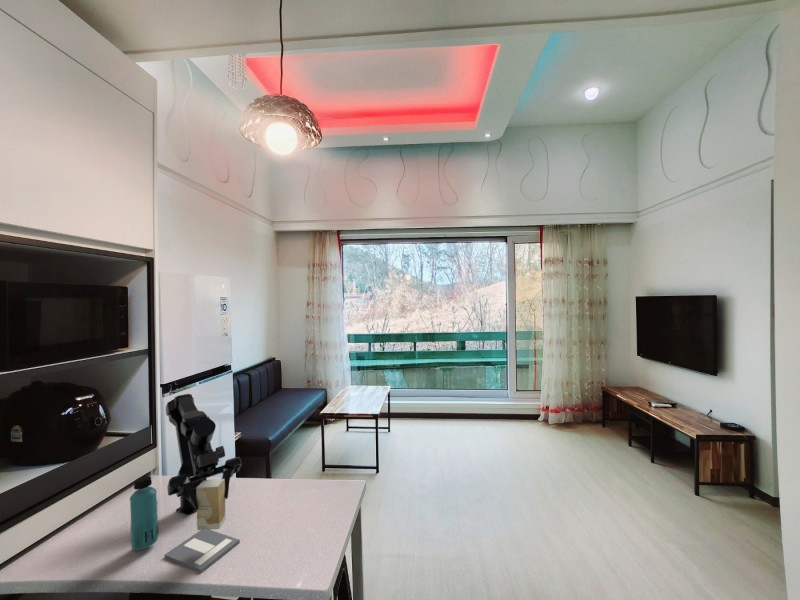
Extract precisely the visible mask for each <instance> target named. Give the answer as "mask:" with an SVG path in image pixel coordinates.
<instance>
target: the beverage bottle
mask: <svg viewBox="0 0 800 600" xmlns="http://www.w3.org/2000/svg"><path fill="white" fill-rule="evenodd" d="M152 482H153V481H152V476H150V475H143V476H141V477H138V478H136V479H135V480H134V482H133V483H134V484H133V485H134V486H133V489H134V490H135V491H134V492H133V493H132V494H131V496H130V497H129V505H130V506H129V507H130V543H131V548H132V550H135V551H140V550H144V549H147V548H149V547H151V546H153V545H154V544H155V543H156V542H157V541H158V538H159V522H158V511H159V510H158V506H159V505H158V504H159V503H158V501H157V500H158V498H157V489H156V488H155V487H152V486H151V485H152Z"/></svg>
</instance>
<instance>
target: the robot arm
mask: <svg viewBox="0 0 800 600" xmlns="http://www.w3.org/2000/svg"><path fill="white" fill-rule="evenodd" d="M165 415H166V416H168V422H170V424H172V425H173V426H174V427H175V431H176V432H175V433H176V438H177V445H178V452H179V459H180V468H179V471H178V473H177V475H176V476H173V477H170V479H169V480H168V483H167V495H168V496H173V495H176V497H177V498H179V499H180V500H179V502H180V506H179V507H177V508H176V509H175V511H176V512H178V513H181V514H183V515H187V516H189V515H191V514H192V513H194V512H195V511H196V512H197V510H198V503H197V498H196V487H197V486H198V485H199V484H200V483H201V482H202V481H203V480H208V478H211V477H213V476H216V475H219V474H222V477H221V479H225V500H227V499H228V497H229V488H230V481H231V478H232V477H233V475H235V474H236V473H239V472H240V469H241V467H242V465H243V462H242V458H240V457H239V456H235V457H233V458H229V459H226V460H225V463H224V465H221V466H218V464H219V462H220V459H221V458H222V459H223V458H225V457H226V452H225V447H224V445H221V446H217V447H216V448H215V450H214V449H213V448H212V444H211V441H212V440H213V437H214V433H215V430H216V423H215V421H213V420H212V419H211V418H210V417H209V416H207V415H208V414H206V413H205V412H204V411H201V410H198V408H197V406H196V404H195V400H194V397H193V395H192V393H184V394H179V395H176V396H174V398H173V399H172V400H170V401H168V402H167V403H166V406H165Z"/></svg>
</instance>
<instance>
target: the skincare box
mask: <svg viewBox="0 0 800 600" xmlns="http://www.w3.org/2000/svg"><path fill="white" fill-rule="evenodd" d="M196 498H197V503H198V510H196V530H197V531H200V530H212V531H213V530H219V529H220V528H221V527H222V525H223V524H224V523H225V521H226V499H225V479H222V478H219V479H218V478H217V479H216V478H214V479H213V478H211V479H206V480H203V481H202V482H201V483H200V484H199V485H198V486H197V487H196Z"/></svg>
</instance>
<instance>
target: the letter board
mask: <svg viewBox="0 0 800 600" xmlns="http://www.w3.org/2000/svg"><path fill="white" fill-rule="evenodd" d="M240 541H241V540H240V539H239V538H236V537H232V536H229V535H226V534H223V533H221V532H218V531H216V530H215V531H214V530H213V529H212V530H198V532H196V533H194V534H193V535H191V536H190V537H188V538H187V539H185V540H184V541H182V542H181V543H180V544H178V545H176V546H175V547H174V548H172V549H170V550H169V551H167V552H166V553H165V554H164V555H163V556H164V557H163V558H164V559H168V560H169V561H171V562H173V563H177V564H179V565H182V566H183V567H187V568H188V569H191V570H194V571H196V572H198V573H199V574H200V573H201V574H202V573H203V572H205V571H206V570H207V569H208V568H210V567H211V566H212V565H213V564H215V563H216V562H217V561H218V560H219V559H221V558H222V557H224V555H226V554H227V553H228V552H229V551H231V550H232V549H234V548H235V547H236V546H237V545H238V544H240V543H241V542H240Z"/></svg>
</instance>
